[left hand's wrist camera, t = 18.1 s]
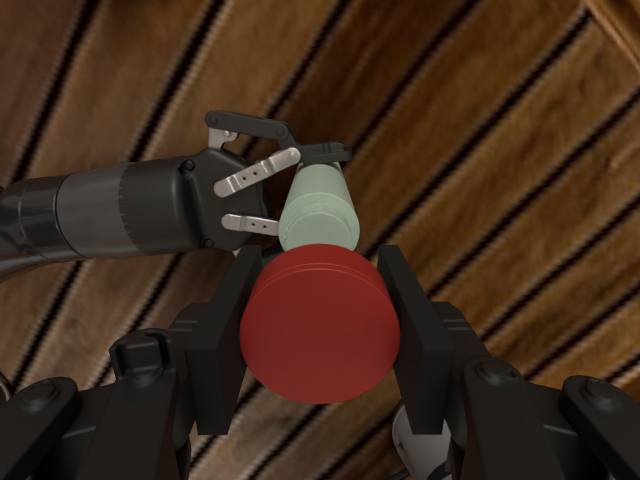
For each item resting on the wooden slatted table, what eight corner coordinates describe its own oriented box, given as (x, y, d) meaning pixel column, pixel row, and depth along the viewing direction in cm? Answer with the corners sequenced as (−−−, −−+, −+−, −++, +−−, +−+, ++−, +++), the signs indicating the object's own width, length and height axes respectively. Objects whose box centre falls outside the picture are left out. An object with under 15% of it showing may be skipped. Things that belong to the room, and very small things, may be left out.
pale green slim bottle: (288, 166, 33) (256, 230, 16) (327, 142, 33) (335, 184, 16) (311, 203, 35) (304, 298, 18) (349, 181, 34) (379, 259, 17)
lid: (406, 337, 13) (421, 376, 11) (286, 378, 13) (280, 422, 11) (360, 220, 11) (368, 243, 9) (226, 273, 12) (209, 304, 10)
